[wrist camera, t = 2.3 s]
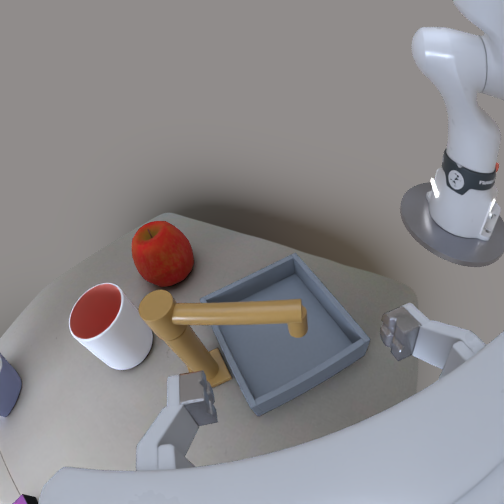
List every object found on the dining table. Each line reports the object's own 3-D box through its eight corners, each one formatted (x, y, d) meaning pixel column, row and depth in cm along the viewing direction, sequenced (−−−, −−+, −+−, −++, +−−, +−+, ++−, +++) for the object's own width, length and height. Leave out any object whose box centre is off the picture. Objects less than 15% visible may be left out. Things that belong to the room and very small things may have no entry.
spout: (307, 312, 26) (305, 282, 23) (308, 346, 24) (306, 319, 21) (164, 316, 29) (144, 289, 26) (156, 344, 27) (133, 320, 24)
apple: (136, 280, 51) (109, 240, 44) (173, 244, 57) (153, 203, 49) (170, 303, 45) (142, 259, 38) (210, 260, 51) (191, 214, 44)
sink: (297, 272, 45) (295, 252, 42) (365, 354, 33) (370, 339, 29) (208, 315, 42) (199, 298, 39) (257, 416, 30) (250, 408, 27)
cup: (103, 332, 43) (69, 298, 36) (149, 311, 45) (120, 272, 38) (109, 380, 36) (68, 350, 29) (162, 359, 38) (127, 324, 31)
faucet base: (219, 349, 38) (187, 300, 29) (232, 378, 34) (201, 336, 26) (187, 364, 37) (147, 318, 28) (198, 393, 33) (156, 356, 25)
